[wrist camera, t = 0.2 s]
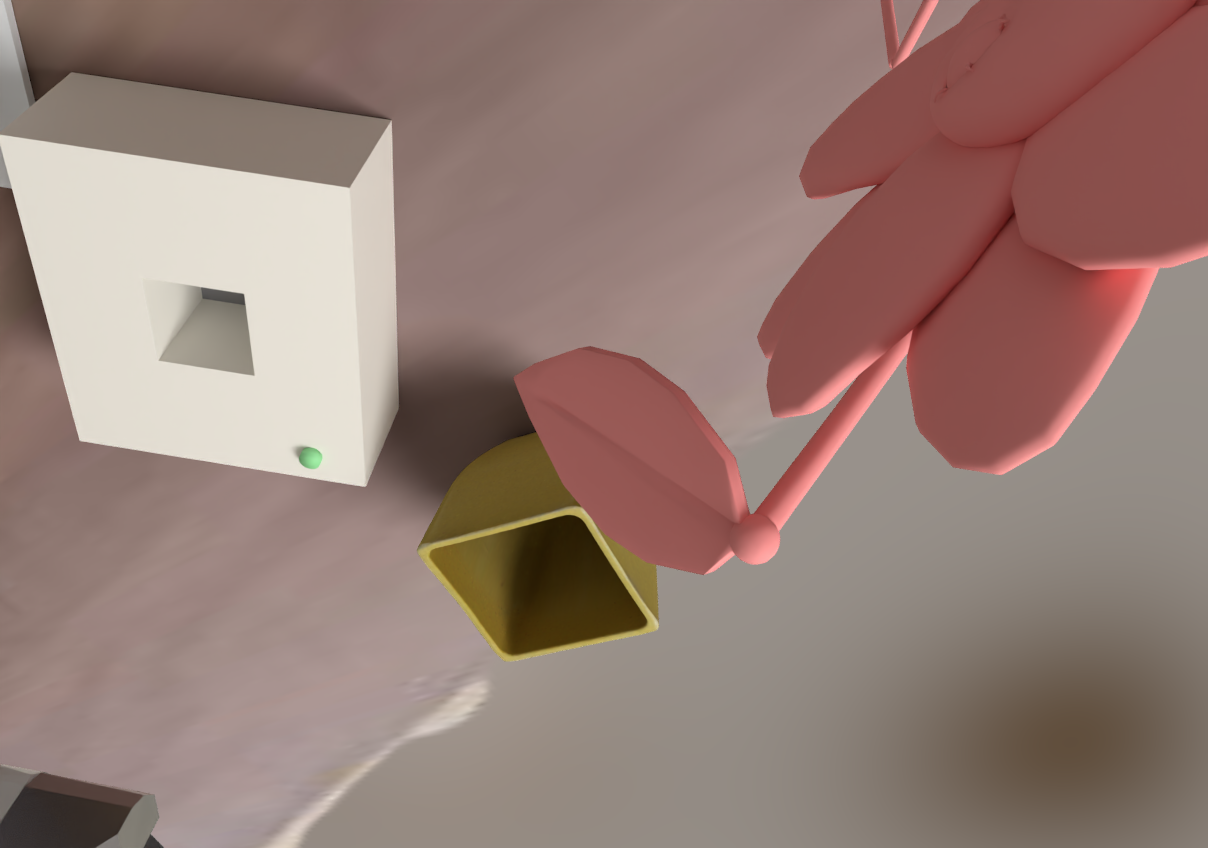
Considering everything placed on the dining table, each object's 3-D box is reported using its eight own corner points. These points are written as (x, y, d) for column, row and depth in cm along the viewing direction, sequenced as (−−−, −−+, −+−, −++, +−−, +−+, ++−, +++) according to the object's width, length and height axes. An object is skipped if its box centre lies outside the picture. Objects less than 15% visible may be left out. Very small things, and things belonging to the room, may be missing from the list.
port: (71, 72, 49) (-9, 138, 44) (391, 120, 49) (346, 192, 44) (134, 365, 59) (75, 446, 55) (399, 408, 59) (363, 492, 54)
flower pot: (677, 502, 61) (662, 633, 54) (533, 537, 64) (502, 666, 57) (607, 378, 56) (581, 505, 49) (456, 423, 59) (411, 548, 52)
